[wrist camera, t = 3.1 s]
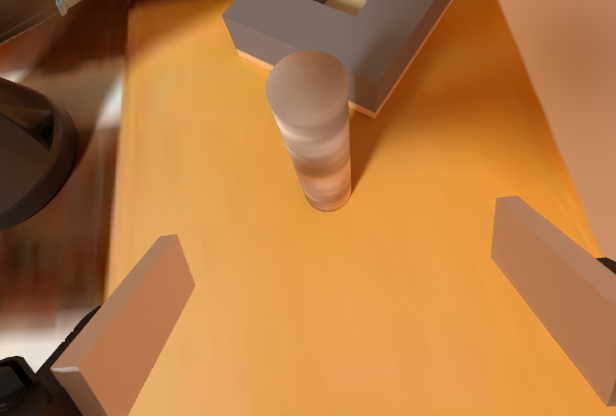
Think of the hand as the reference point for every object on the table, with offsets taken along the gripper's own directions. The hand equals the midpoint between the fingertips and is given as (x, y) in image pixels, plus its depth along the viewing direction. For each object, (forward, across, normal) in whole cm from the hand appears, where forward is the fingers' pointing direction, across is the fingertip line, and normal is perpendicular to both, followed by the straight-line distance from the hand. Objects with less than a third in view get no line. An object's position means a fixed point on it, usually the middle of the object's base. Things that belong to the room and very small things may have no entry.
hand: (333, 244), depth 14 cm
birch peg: (+15, 0, -4) cm, 16 cm away
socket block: (+28, +3, +9) cm, 29 cm away
